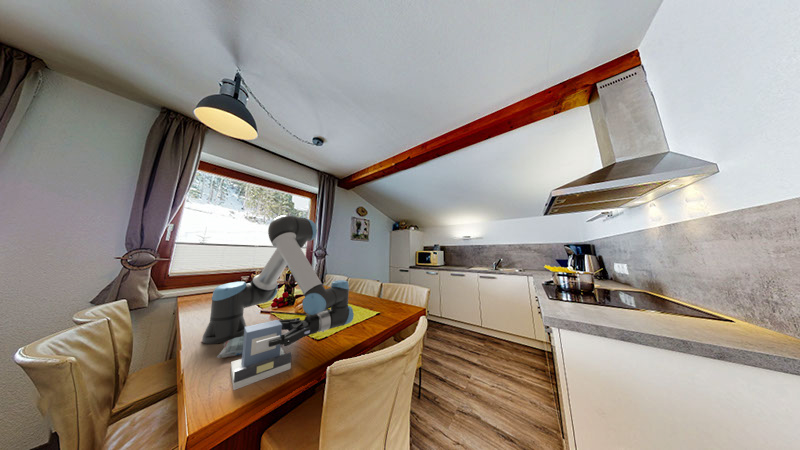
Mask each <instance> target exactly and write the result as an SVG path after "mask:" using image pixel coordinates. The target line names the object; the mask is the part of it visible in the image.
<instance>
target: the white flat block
mask: <svg viewBox="0 0 800 450" xmlns="http://www.w3.org/2000/svg"><path fill="white" fill-rule="evenodd" d="M241 362H242V358H239V359H237V360H232V361H231V362H230V372H231V374H230V376H231V382H232V383H231V384H232V391H235V390H238V389H241V388H243V387H246V386H248V385H252V384H255V383H256V382H260V381H262V380H265V379H267V378H271V377H273V376H276V375H277V374H280V373H283V372H285V371H288V370H291V367H292V365H291V364H292V352H291V351H289V352H286V353H285V351H284V349H283V347H280V356H277V357H273V358H270V359H267V360H264V361H261V362H258V363H255V364H252V365H249V366H246V367H243V368H242V365H241Z"/></svg>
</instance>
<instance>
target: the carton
mask: <svg viewBox="0 0 800 450" xmlns="http://www.w3.org/2000/svg"><path fill="white" fill-rule="evenodd" d="M279 320H280V319H274V320H271V321H266V322H262V323H261V322H260V323H257V324H252V325H246V327H245V329H244V335H243V336H244V340H243V351H242V354H241V359H242V362H241V365H242V368H243V367H246V366H249V365H252V364H255V363H258V362H261V361H264V360H267V359H270V358H273V357H277V356H280V347H281V346H282V345H276V346H273V347H270V348H266V349H263V350H259V351H255V348H256V341H260V340H264V339H268V338H271V337H275V336H279V335H280V338H281V334H283V333H282V332H283V330H282V324H281V322H280V321H279ZM281 348H282V347H281Z"/></svg>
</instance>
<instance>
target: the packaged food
mask: <svg viewBox="0 0 800 450" xmlns="http://www.w3.org/2000/svg"><path fill="white" fill-rule="evenodd" d="M243 340H244V335H242V336H241V337H237V338H234V339H231V340H228V341H226V342H223V343H222V344H223V349H222V350H221V351H220V352H219V353H218V355H216V358H220V359H221V358H229V357H234V356H242V351H243Z"/></svg>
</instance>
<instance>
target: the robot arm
mask: <svg viewBox="0 0 800 450" xmlns="http://www.w3.org/2000/svg"><path fill="white" fill-rule="evenodd" d="M317 231H318V229H317V225H316V223H315V222H314V221H313V220H312V219H309V218H306V217H300V216H293V215H288V214H284V215H280V216H277V217H275V218H274V219H272V221H271V222H270V223H269V226H268V230H267V234H268V238H269V242H270V243H271V245H272V246H273V247H274V248H276V249H275V251H273V253H272V255H271V257H270V258H269V260H268V261H267V263H266V264H265V266H264V268H263V269H262V270H261V272H260V273H259V274H257V275H255V276H254V277H253V278H252V280H251V281H250V282H248V283H246V281H234V282H228V283H224V284H221V285H218V286H216V287H215V288H214V289H213V292H212V296H211V304H210V305H211V307H210V318H209V322H208V324H207V327H206V328H205V331H204V332H203V334H202V340H201V341H202V342H201V343H203V344H206V345H213V344H221V343H222V344H223V343H225V342H226V341H228V340H231V339H234V338H237V337H241V336H244V329H245V327H246V326H247V324H246V321H245V318H244V309H245V308H249V307H250V308H251V307H254V306H257V305H260V304H264V303H267V302H270V301H272V300H273V299H274V298H275V297H276V296H277V294H278V287H279V286H278V282H277V281H278V279H279V278H280V276H281V275H282V273H283V272H284V271H285V269H286V267H288V270H289V271H290V272H291V274H292V277H293V279H294V280H295V281H296V284H297V286H298V288H299V289H300V290H301V292H302V294H303V296H304V298H303V300H302V302H301V303H302V310H303V311H304V312H305V313H306V314H307V315H305V317H304V319H303V320H301V319H300V317H297V318H289V319H287V318H285V319H278V320H279V321H280V322H281V324H282V331H287V330H288V331H287V332H285V333H281V338H280V335H279V336H275V337H271V338H268V339H264V340H260V341H256V348H255V351H259V350H263V349H266V348H270V347H273V346H276V345H281V346H282V345H283V346H284V347H288V346H289V345H291V344H293V343H295V342H298V341H299V340H301V339H302V338H303V339H304V338H305V337H308V336H310V335H313V334H317V333H320V332H321V333H324V332H325V331H326V330H331V329H334V328H338V327H343V326H345V325H346V326H347V324H348V325H349V324H350V323H352V321H353V320H354V315H355V314H354V310H353V308H352V306H351V305H349V297H350V296H349V294H350V293H349V292H350V287H349V281H348V280H345V279H338V280H337V279H336V280H333V281H332V282H331V285H330V287H329V288H325V286H324V285H323V283H322V281H321V280H320V278H319V277H318V275H317V273H316V271H315V270H314V268H313V266H312V264H311V263H310V261H309V260H308V258H307V255H305V253H304V250H302V248H303V247H304V246H305V245H306V243H307V242H310V241H311V242H312V241H313V240H314V239H315V238H316V236H317ZM327 309H328V310H327Z"/></svg>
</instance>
